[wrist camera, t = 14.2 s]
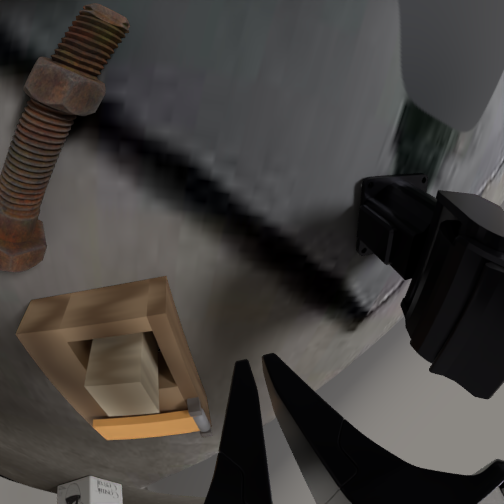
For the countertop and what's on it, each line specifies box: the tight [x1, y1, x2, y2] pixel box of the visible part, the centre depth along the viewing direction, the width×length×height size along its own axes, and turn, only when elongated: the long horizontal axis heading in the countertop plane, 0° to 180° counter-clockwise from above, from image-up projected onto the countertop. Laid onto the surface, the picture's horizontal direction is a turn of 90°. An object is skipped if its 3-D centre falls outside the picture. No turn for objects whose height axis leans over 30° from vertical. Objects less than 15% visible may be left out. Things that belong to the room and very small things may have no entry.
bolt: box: [0, 3, 130, 272], centre depth 12 cm, size 6×5×15 cm
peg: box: [84, 331, 160, 416], centre depth 20 cm, size 4×4×7 cm
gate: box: [93, 408, 210, 440], centre depth 23 cm, size 11×3×1 cm, turn 95°
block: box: [16, 276, 212, 437], centre depth 22 cm, size 12×16×5 cm
